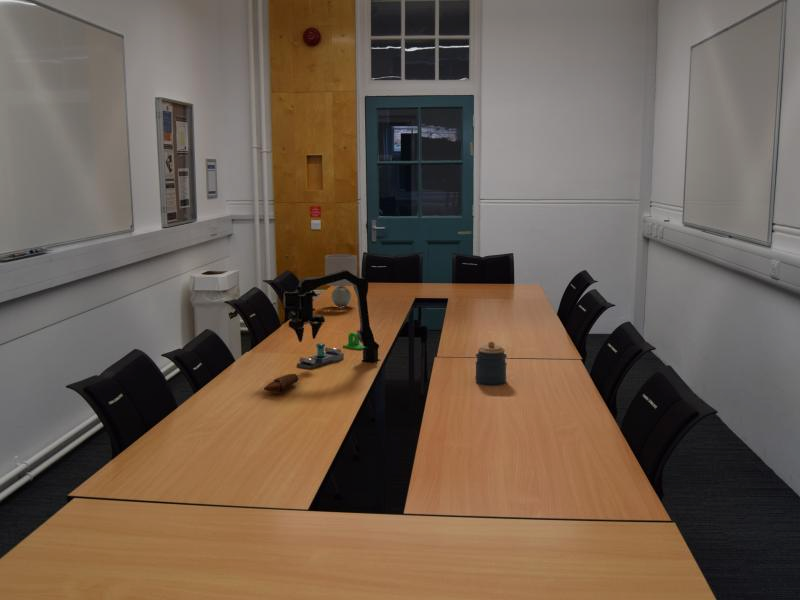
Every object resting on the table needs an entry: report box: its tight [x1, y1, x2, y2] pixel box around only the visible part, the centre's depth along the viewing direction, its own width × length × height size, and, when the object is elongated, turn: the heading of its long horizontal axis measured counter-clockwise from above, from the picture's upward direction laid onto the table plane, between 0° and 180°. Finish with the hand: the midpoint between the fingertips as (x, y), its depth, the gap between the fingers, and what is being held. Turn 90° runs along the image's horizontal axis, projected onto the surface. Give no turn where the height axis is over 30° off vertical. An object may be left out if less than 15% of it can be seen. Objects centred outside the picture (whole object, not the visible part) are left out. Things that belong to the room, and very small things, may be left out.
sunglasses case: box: [263, 373, 299, 395], centre depth 330 cm, size 18×7×7 cm
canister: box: [474, 341, 508, 387], centre depth 338 cm, size 13×13×18 cm
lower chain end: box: [296, 357, 334, 370], centre depth 371 cm, size 8×16×4 cm, turn 145°
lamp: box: [324, 254, 358, 307], centre depth 518 cm, size 20×20×35 cm
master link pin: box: [315, 342, 326, 358], centre depth 374 cm, size 4×4×9 cm
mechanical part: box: [342, 331, 365, 351], centre depth 404 cm, size 12×6×8 cm, turn 49°
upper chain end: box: [307, 346, 345, 363], centre depth 378 cm, size 8×16×5 cm, turn 145°
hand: (307, 340), depth 367 cm, fingers open, 9 cm apart
